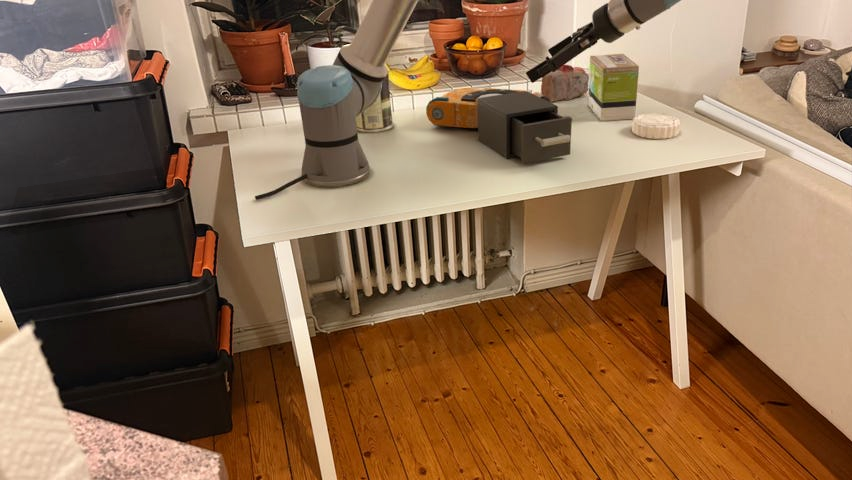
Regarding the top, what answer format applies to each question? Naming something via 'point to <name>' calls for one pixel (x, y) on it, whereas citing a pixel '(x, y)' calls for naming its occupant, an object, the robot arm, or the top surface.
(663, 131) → the mooncake
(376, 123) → the coffee can
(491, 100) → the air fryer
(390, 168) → the top surface
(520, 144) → the drawer
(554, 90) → the food item
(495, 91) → the device
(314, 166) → the robot arm
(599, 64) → the tea box
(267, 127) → the top surface
